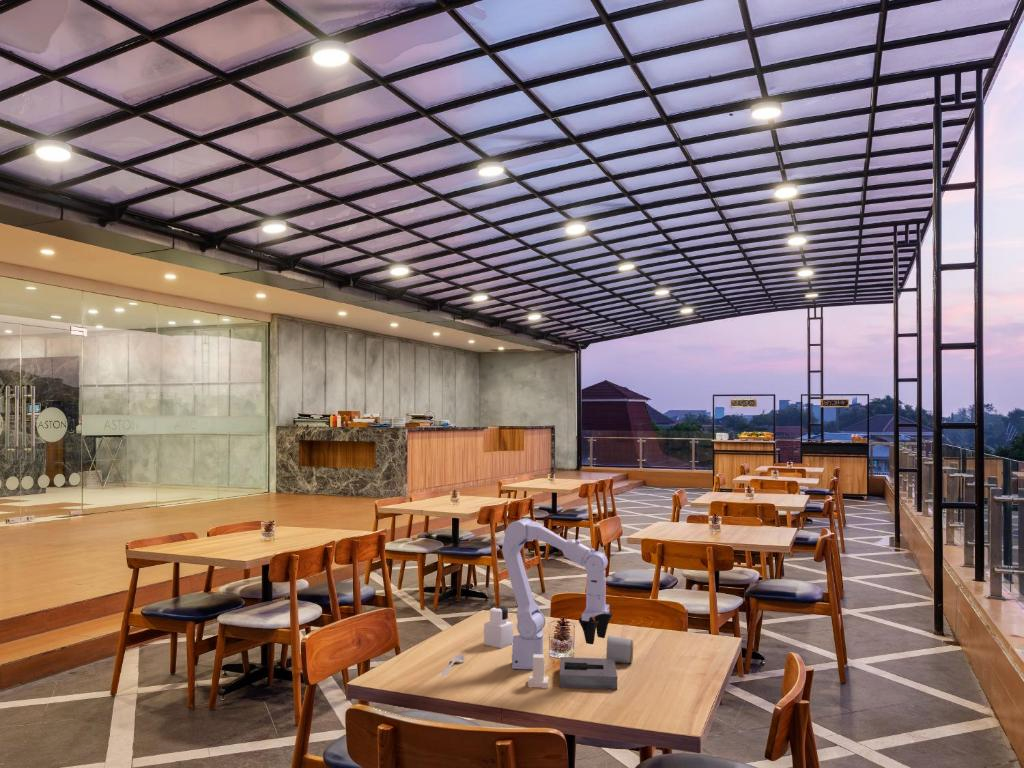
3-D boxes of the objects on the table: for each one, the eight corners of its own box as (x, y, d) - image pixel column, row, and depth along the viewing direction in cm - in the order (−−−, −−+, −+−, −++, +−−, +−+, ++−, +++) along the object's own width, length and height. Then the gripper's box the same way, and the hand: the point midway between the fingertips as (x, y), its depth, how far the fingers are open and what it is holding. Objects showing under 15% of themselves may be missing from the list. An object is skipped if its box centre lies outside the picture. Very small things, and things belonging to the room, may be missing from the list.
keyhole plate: (559, 687, 212) (559, 674, 212) (560, 668, 228) (560, 657, 228) (617, 689, 211) (617, 676, 211) (614, 670, 227) (614, 658, 227)
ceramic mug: (633, 666, 231) (633, 640, 232) (606, 664, 233) (606, 639, 233) (633, 656, 242) (633, 631, 242) (607, 654, 243) (607, 630, 244)
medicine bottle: (496, 639, 258) (496, 604, 258) (513, 643, 254) (513, 607, 254) (483, 644, 252) (483, 608, 253) (500, 648, 248) (501, 611, 248)
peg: (528, 687, 212) (528, 658, 213) (529, 680, 218) (529, 652, 218) (547, 688, 212) (548, 659, 212) (548, 681, 217) (548, 653, 218)
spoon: (467, 660, 237) (467, 654, 237) (444, 682, 217) (444, 676, 218) (455, 658, 238) (455, 653, 239) (431, 680, 219) (431, 674, 219)
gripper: (597, 600, 217) (596, 648, 216) (618, 591, 229) (618, 636, 228) (575, 597, 221) (574, 644, 220) (597, 588, 233) (597, 633, 232)
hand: (595, 640), depth 224 cm, fingers open, 7 cm apart
